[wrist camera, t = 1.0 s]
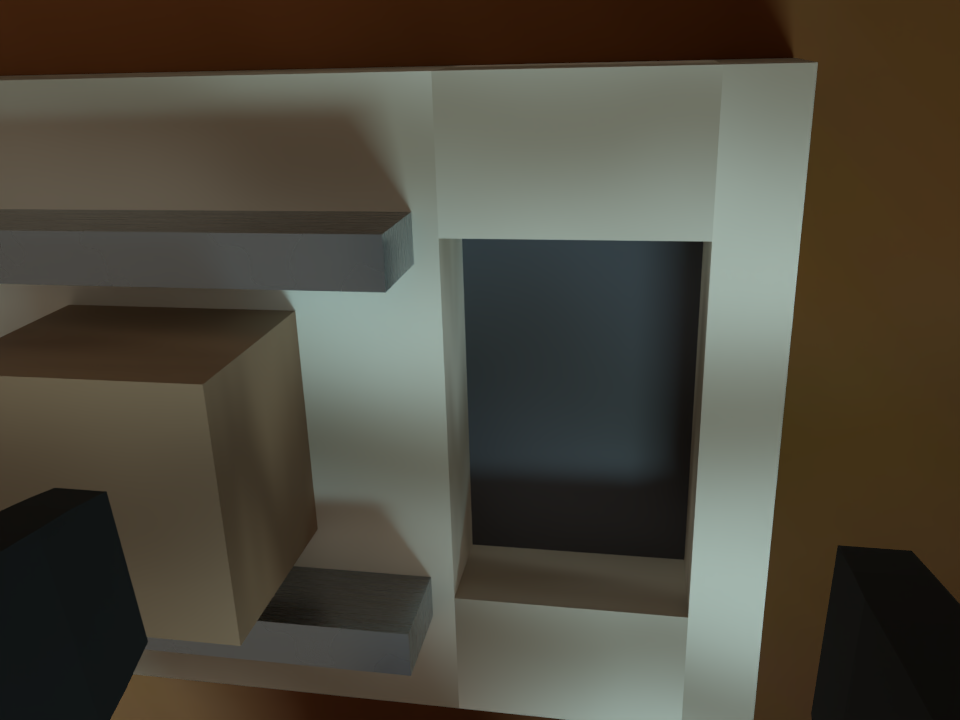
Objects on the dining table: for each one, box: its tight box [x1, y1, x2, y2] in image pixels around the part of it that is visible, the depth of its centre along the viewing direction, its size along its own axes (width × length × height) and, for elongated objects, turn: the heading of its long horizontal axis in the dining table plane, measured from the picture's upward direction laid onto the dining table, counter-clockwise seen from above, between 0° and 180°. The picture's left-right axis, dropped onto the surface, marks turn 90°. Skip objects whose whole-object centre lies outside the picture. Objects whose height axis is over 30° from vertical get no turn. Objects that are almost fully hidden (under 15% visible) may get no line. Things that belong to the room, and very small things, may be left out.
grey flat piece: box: [0, 58, 818, 720], centre depth 21 cm, size 14×28×2 cm, turn 92°
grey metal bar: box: [0, 209, 433, 676], centre depth 18 cm, size 9×10×2 cm
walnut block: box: [0, 305, 318, 646], centre depth 17 cm, size 5×5×4 cm
